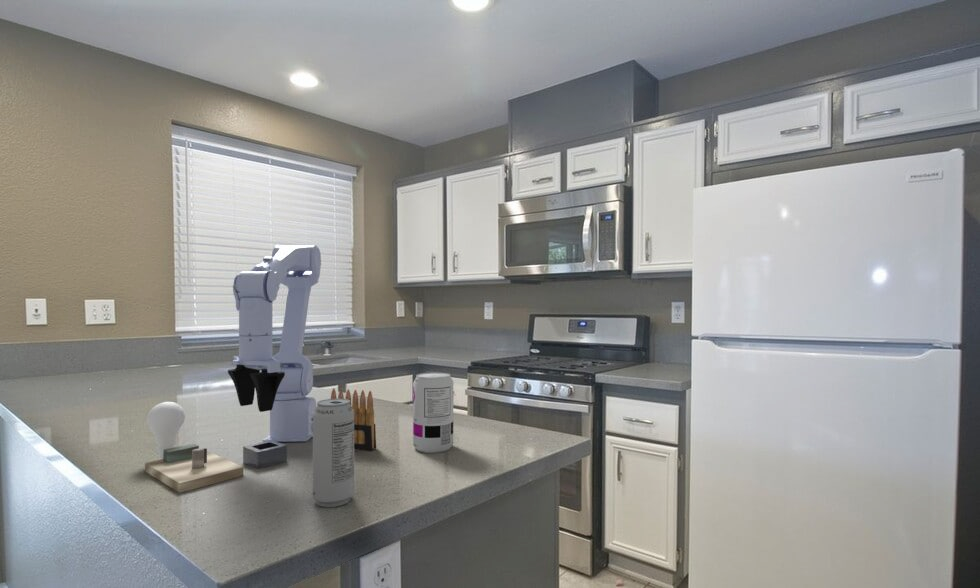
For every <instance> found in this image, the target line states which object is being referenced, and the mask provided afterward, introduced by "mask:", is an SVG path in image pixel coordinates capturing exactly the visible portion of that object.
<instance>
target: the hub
mask: <svg viewBox="0 0 980 588" xmlns="http://www.w3.org/2000/svg"><path fill="white" fill-rule="evenodd" d="M242 448H243V450H242V463H243V464H246V465H247V466H250V467H253V468H255V469H257V470H259V469H262V468H266V467H270V466H274V465H277V464H281V463H284V462H285V463H286V462H287V461H288V445H287V444H284V443H283V442H276V441H273V440H271V441H266V442H263V441H262V442H258V443H257V442H256V443H253V444H249V445H245V446H243V447H242Z"/></svg>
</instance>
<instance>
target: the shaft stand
mask: <svg viewBox="0 0 980 588" xmlns="http://www.w3.org/2000/svg"><path fill="white" fill-rule="evenodd" d="M144 472H145V473H147V474H149V475H150V476H152V477H153V478H154V479H156V480H158V481H160V482H161V483H163V484H165V485H166V486H168V487H169V488H171V489H173V490H174V491H176V492H177V493H180V494H181V493H183V492H187V491H191V490H195V489H199V488H202V487H206V486H210V485H214V484H217V483H222V482H224V481H229V480H233V479H237V478H240V477H243V476H244V466H242V465H239V464H238V463H235V462H233V461H231V460H228V459H226V458H224V457H222V456H220V455H217V454H215V453H213V452H211V451H208V448H207V447H203V448H201V447H200V446H199V445H198V444H195V443H189V444H185V445H180V446H174V448H169V449H165V450H163V459H162V458H160V459H156V460H152V461H147V462H144Z"/></svg>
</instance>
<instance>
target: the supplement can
mask: <svg viewBox="0 0 980 588" xmlns="http://www.w3.org/2000/svg"><path fill="white" fill-rule="evenodd" d="M412 391H413V392H412V397H413V399H412V405H413V406H412V407H413V408H412V410H413V412H412V415H413V416H412V417H413V418H412V419H413V422H412V424H413V425H412V436H413V437H412V445H413V448H415V449H416V451H418V452H420V453H426V454H427V453H429V454H432V453H433V454H435V453H436V454H437V453H443V452H447V451H449V450H450V449H451V447H452V446H453V445H454V380H453V378H452V376H451V374H450V373H447V372H424V373H418V374H416V377H415V379H414V381H413V382H412Z"/></svg>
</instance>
